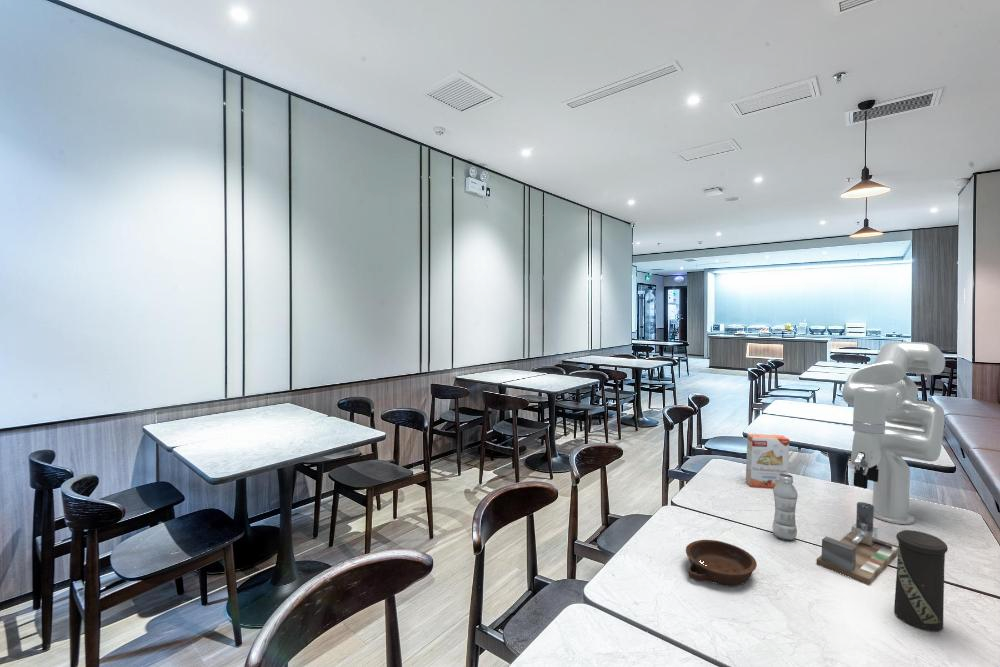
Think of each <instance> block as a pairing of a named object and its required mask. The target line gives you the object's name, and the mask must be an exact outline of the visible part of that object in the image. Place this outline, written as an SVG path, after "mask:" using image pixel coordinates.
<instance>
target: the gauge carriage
mask: <svg viewBox="0 0 1000 667" xmlns="http://www.w3.org/2000/svg"><path fill="white" fill-rule="evenodd" d="M874 518H875V517H874V506H873V505H872V503H868V502H862V501H861V502H860V501H858V502H857V503H856V518H855V520H856V522H855V523H854V524H852V526H851V529H850V532H851V539H852V542H853V543H854V544H858V543H859V542H861V543H864V544H867V545H870V546H872V545H873V544H877V545H880V546H883V547H886V548H889V549H892V546H890V545H886V544H883V543H880V542H877V539H878V527H875V526H874Z"/></svg>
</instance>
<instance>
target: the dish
mask: <svg viewBox="0 0 1000 667" xmlns="http://www.w3.org/2000/svg"><path fill="white" fill-rule="evenodd" d="M685 553H686V554H685V555H686V556H687V557H688V561H689V563H690V565H689V566H688V570H687V575H688V577H689V578H691V579H692V580H694V581H699V582H704V581H705V582H706V581H707V582H710V583H713V582H714V583H713V584H716V583H717V584H716V585H719V584H721V585H720V586H725V585H728V587H735V586H740V585H743V584H745V583H747V582H748V581H749V580H750V578H751V577H752V574H753V572H755V570H756V568H757V560H756V559H755V557H754V556H753V555H752V554H750V553H749V552H747V550H745V549H743V548H741V547H739V546H736V545H734V544H731V543H728V542H724V541H721V540H714V539H700V540H695V541H692V542H690V543H689V544H687V546H685ZM700 560H701V562H703V561H704V563H703V564H704V565H703V564H701V563H700V562H699V561H700ZM705 565H707V566H705Z"/></svg>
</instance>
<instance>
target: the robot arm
mask: <svg viewBox="0 0 1000 667" xmlns="http://www.w3.org/2000/svg"><path fill="white" fill-rule="evenodd" d="M944 355H945V354H944V353H943V351H941V350H940V348H938V346H936V345H934V343H929V342H922V341H921V342H920V341H916V342H915V341H890V342H887V343H885V344H884V345H883V346H882V347H881V349H880V351H879V352H878V354H877V356H876V358H875V360H874V362H873V363H872V364H869V365H867V366H864V367H861V368H858V369H857V370H855V371H853V372H851V373H850V374H849V375H848V377H847V379H846V381H845V383H844V385H843V387H842V392H841V396H842V399H843V401H844V402H845V404H848V405H850V406H853V412H852V414H853V415H852V417H853V418H852V431H853V432H854V434H853V440H852V445H851V457H850V464H852V465H854V469H853V486H854V487H857V488H861V489H868V485H869V484H868V481H871V482H873V483H872V486H873V487H872V503H871V505H873V506H874V518H875V519H878V520H880V521H884V522H886V523H887V522H888V523H893V524H898V525H911V524H914V523H915V517H914V516H913V515H912V514H910V513H909V509H910V508H909V507H910V506H909V505H910V502H909V501H910V489H911V488H910V486H911V469H910V467H909V465H908V464H907V462H906V461H905V460H904V458H908V459H913V460H918V461H925V462H935V461H937V460H938V459H939V457H940V455H941V451H942V445H943V439H944V438H943V437H944V436H943V435H944V430H945V421H946V420H945V419H946V418H945V417H946V416H945V415H946V414H945V411H944V409H943V406H941V405H940V404H938V403H935V402H932V401H924V400H918V393H919V387H918V386H917V384H916V383H915V382H914V381H913V380H912V378H910V376H908V375H907V374H918V375H919V374H920V375H929V376H935V375H940V374H941V373H943V371H944V369H945V367H946V358H945V356H944ZM886 423H888V424H891V426H889V425H886ZM892 425H895V426H892ZM897 426H900V427H897ZM901 426H902V427H901ZM903 427H907V428H903ZM909 428H913V429H909ZM916 429H920V430H922V431H920V430H916Z"/></svg>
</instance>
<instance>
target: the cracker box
mask: <svg viewBox="0 0 1000 667" xmlns="http://www.w3.org/2000/svg"><path fill="white" fill-rule="evenodd" d="M746 436H747V440H746V442H747V443H746V462H745V464H746V465H745V483H747V485H748V486H750V488H763V489H764V488H765V489H766V488H767V489H774V487H775V486H776V485H777V484H778V483H779V482H780V481H779V474H788V473H789V456H790V439H789V438H788V437H786V436H785V435H783V434H782V435H780V434H778V435H777V434H761V433H747V435H746ZM788 475H789V474H788Z"/></svg>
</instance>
